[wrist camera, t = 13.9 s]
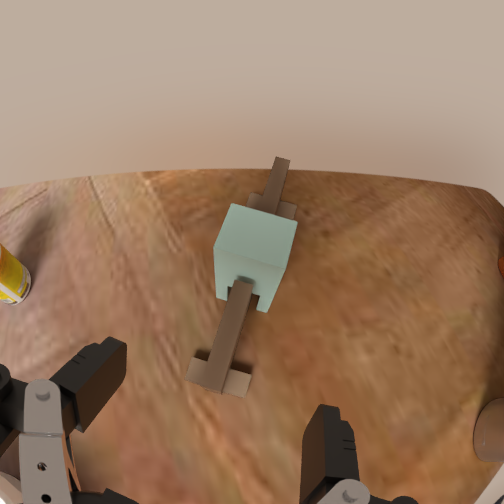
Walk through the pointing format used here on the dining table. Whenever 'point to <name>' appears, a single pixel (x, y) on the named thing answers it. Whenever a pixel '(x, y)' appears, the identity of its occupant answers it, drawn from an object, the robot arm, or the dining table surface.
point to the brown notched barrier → (239, 303)
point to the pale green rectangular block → (252, 252)
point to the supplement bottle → (12, 278)
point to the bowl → (10, 489)
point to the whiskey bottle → (501, 265)
